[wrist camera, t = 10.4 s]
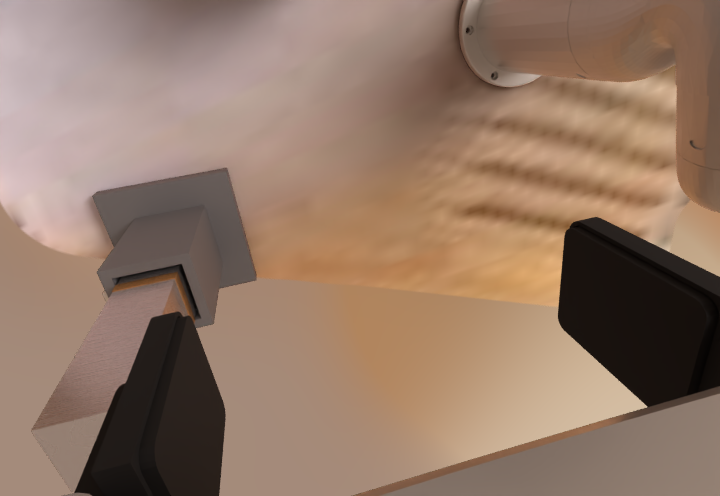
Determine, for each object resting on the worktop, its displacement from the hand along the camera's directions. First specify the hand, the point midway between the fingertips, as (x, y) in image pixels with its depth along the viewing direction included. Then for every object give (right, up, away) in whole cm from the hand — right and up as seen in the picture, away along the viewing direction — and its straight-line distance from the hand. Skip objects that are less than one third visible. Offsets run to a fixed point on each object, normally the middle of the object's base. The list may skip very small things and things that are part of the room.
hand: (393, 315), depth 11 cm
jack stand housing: (-20, +3, +37) cm, 42 cm away
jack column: (-18, -1, +29) cm, 35 cm away
